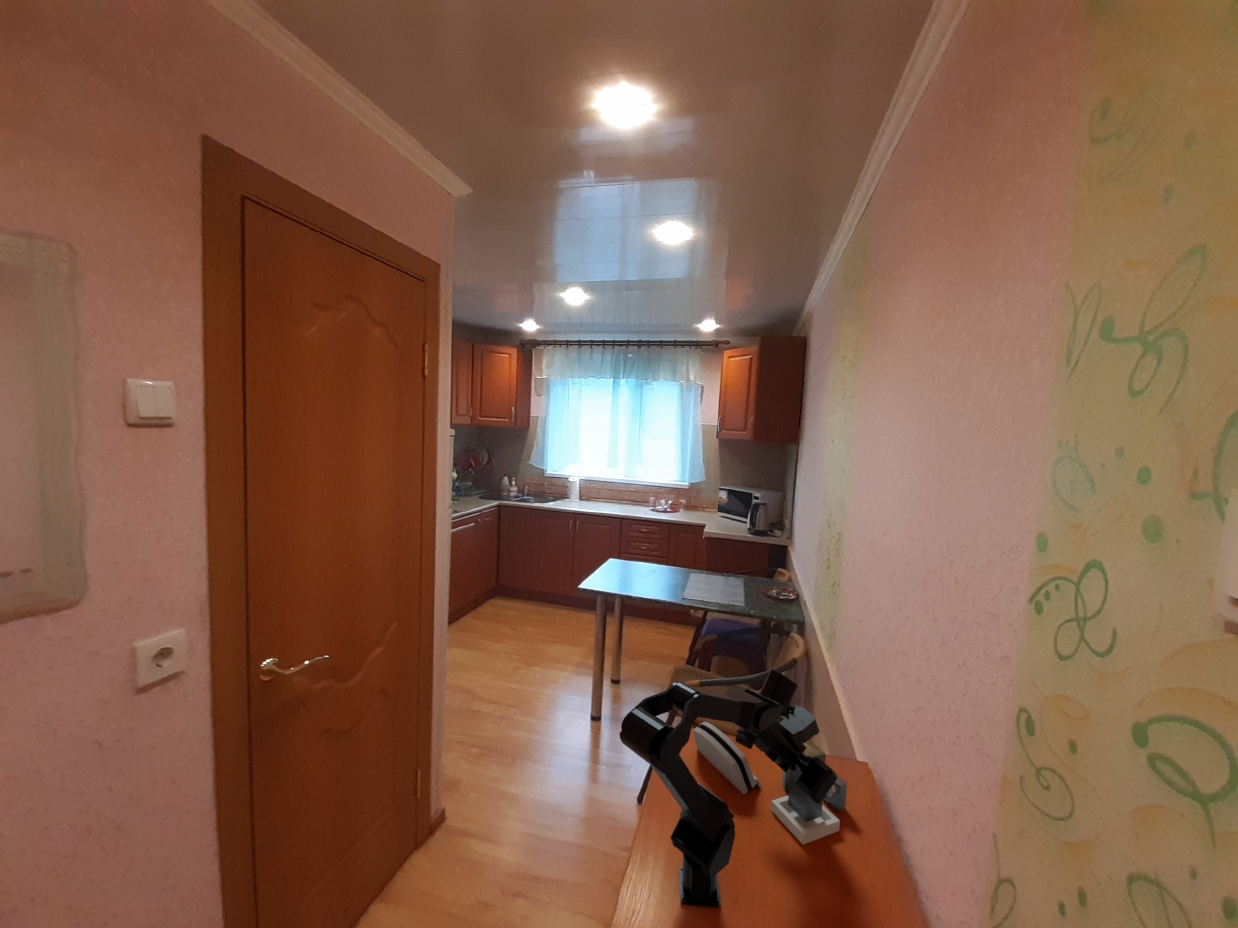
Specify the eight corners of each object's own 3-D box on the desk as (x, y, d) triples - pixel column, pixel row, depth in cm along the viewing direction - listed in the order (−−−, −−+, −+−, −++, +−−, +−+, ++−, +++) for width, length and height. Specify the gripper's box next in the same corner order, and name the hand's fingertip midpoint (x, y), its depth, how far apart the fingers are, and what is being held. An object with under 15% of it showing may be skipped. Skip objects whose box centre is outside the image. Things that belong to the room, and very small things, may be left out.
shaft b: (806, 800, 106) (808, 775, 106) (787, 798, 106) (788, 773, 106) (800, 783, 111) (801, 759, 111) (781, 782, 111) (782, 757, 111)
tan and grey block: (821, 816, 99) (825, 753, 98) (805, 822, 97) (809, 757, 96) (803, 798, 104) (806, 738, 102) (787, 803, 102) (791, 742, 101)
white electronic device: (761, 787, 110) (751, 750, 107) (745, 800, 108) (735, 763, 105) (713, 743, 125) (703, 710, 122) (698, 754, 123) (687, 721, 120)
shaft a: (831, 816, 102) (832, 790, 101) (814, 803, 105) (815, 777, 105) (846, 807, 104) (848, 781, 104) (830, 794, 108) (831, 769, 107)
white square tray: (839, 830, 98) (839, 820, 98) (802, 844, 95) (803, 834, 95) (805, 798, 107) (806, 789, 106) (771, 810, 103) (771, 800, 103)
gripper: (832, 728, 88) (874, 772, 94) (763, 677, 106) (802, 717, 111) (794, 782, 86) (839, 824, 91) (730, 721, 103) (771, 760, 108)
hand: (811, 776), depth 100 cm, fingers closed on tan and grey block, 5 cm apart
